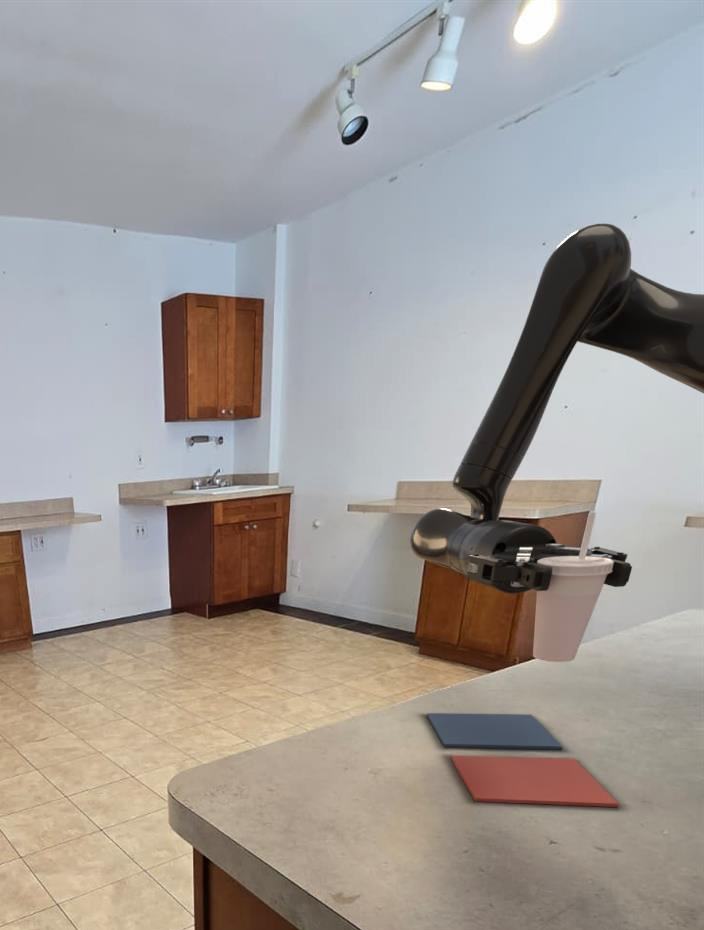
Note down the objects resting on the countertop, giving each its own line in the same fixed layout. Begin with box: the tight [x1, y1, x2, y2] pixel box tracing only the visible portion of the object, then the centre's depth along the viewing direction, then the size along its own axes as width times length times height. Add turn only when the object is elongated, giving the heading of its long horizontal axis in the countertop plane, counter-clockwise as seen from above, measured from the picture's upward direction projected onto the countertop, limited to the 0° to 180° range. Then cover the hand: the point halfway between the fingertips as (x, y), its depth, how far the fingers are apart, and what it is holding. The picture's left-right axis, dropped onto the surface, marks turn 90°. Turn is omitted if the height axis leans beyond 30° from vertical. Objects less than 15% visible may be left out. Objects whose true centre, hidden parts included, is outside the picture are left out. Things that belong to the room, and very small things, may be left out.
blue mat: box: [426, 712, 563, 750], centre depth 82 cm, size 13×11×1 cm
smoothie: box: [532, 512, 614, 663], centre depth 63 cm, size 6×6×14 cm
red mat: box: [450, 754, 619, 808], centre depth 69 cm, size 13×11×1 cm
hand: (585, 577), depth 61 cm, fingers closed on smoothie, 6 cm apart
